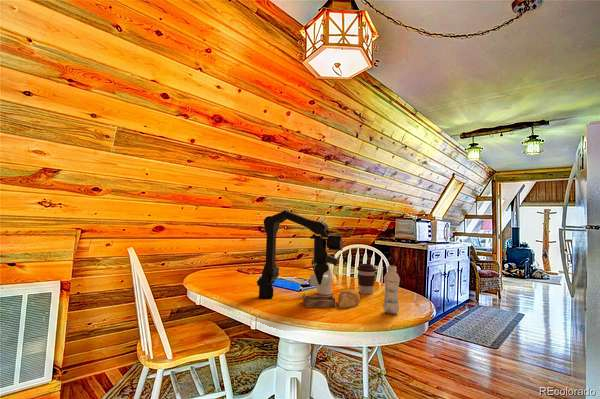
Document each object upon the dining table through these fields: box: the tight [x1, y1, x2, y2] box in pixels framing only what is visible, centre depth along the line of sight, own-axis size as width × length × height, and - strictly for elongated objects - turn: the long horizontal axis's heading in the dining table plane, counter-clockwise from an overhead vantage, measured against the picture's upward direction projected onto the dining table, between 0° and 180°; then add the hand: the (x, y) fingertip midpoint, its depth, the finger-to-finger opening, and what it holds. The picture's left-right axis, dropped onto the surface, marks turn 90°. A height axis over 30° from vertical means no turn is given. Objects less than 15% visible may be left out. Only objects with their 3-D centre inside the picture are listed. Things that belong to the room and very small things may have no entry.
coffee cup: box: [356, 263, 377, 295], centre depth 173 cm, size 10×10×15 cm
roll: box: [309, 274, 328, 287], centre depth 148 cm, size 8×5×5 cm, turn 93°
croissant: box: [338, 288, 361, 309], centre depth 151 cm, size 21×10×8 cm, turn 151°
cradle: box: [302, 292, 336, 308], centre depth 148 cm, size 14×8×4 cm, turn 93°
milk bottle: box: [316, 262, 333, 296], centre depth 169 cm, size 8×8×20 cm
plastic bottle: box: [382, 265, 401, 315], centre depth 138 cm, size 6×7×20 cm
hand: (319, 283), depth 148 cm, fingers closed on roll, 5 cm apart
